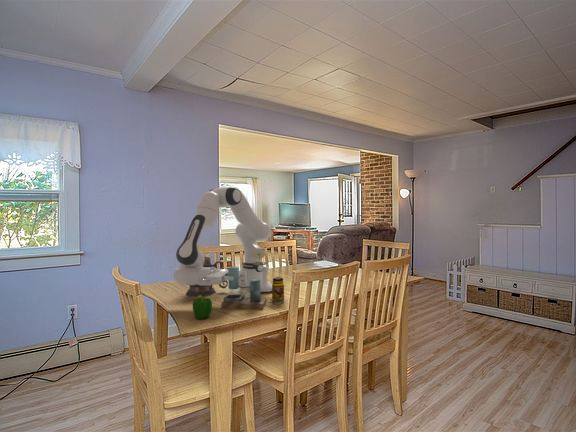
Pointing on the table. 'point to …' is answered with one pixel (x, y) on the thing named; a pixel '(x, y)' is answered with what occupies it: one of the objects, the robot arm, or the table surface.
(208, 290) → the tankard
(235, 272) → the column
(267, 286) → the flower in vase
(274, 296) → the condiment
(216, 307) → the table surface
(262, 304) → the base
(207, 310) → the bell pepper
